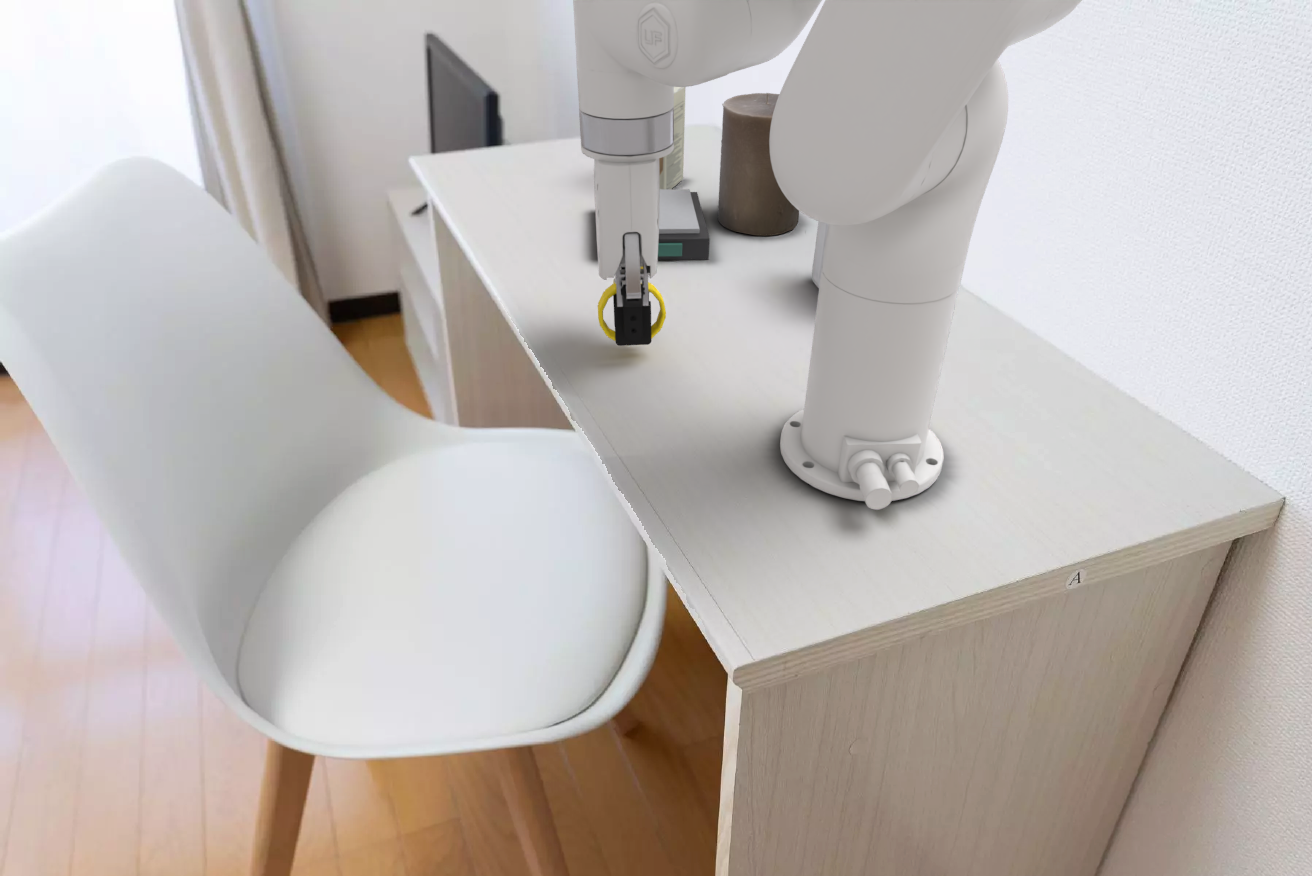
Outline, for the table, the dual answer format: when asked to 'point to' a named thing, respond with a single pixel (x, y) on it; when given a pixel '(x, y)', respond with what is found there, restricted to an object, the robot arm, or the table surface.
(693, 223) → the scale
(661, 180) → the cosmetic box
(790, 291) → the table surface
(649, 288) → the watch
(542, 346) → the table surface
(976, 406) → the table surface
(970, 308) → the table surface
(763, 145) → the pillar candle
